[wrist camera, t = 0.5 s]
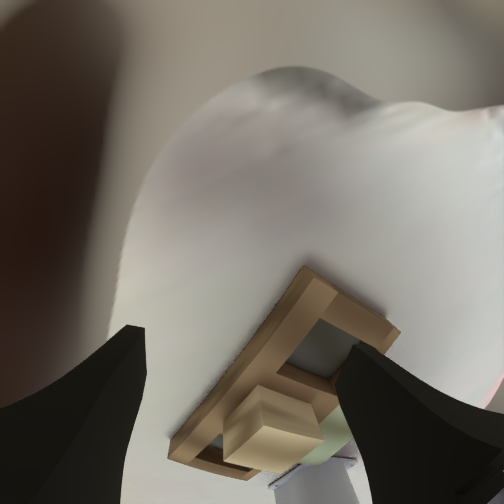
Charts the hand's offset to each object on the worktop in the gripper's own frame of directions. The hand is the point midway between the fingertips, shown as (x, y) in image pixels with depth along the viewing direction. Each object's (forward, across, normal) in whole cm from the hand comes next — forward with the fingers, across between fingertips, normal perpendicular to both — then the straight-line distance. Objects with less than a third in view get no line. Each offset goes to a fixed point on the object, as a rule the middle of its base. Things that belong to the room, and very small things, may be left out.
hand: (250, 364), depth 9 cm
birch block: (+6, -4, +11) cm, 13 cm away
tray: (+9, -7, +13) cm, 17 cm away
